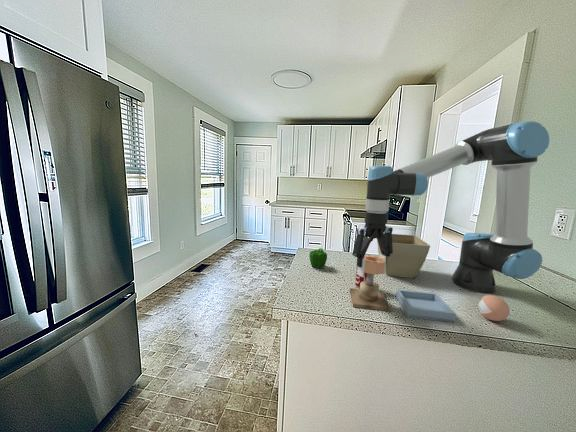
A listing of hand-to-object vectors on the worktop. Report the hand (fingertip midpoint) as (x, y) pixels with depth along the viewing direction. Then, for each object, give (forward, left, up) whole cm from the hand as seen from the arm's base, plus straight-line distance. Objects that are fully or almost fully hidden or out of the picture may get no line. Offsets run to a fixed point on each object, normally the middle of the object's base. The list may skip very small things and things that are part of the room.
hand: (371, 274), depth 87 cm
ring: (0, 0, +2) cm, 2 cm away
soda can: (+1, -12, -10) cm, 16 cm away
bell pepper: (+20, -29, -10) cm, 37 cm away
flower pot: (-19, -32, -10) cm, 39 cm away
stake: (0, 0, -10) cm, 10 cm away
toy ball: (-38, +4, -10) cm, 40 cm away
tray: (-18, +2, -10) cm, 21 cm away
